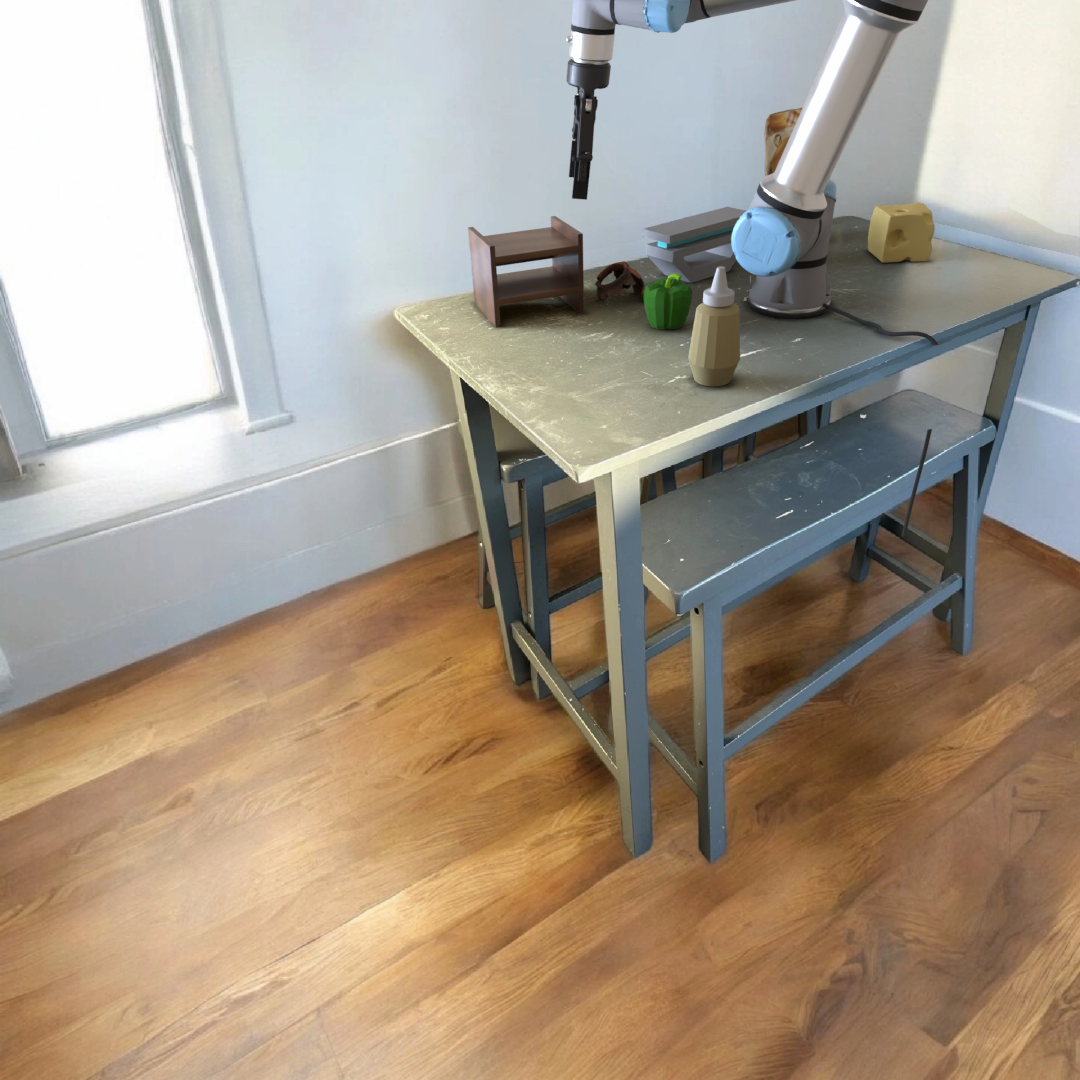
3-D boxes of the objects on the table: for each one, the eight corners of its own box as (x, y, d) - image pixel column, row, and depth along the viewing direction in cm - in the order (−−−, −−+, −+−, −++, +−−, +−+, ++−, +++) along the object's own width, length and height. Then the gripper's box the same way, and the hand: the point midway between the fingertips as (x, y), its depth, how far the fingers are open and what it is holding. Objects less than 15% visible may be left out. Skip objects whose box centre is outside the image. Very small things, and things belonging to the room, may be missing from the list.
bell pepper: (635, 323, 160) (636, 269, 154) (673, 315, 162) (676, 262, 156) (658, 337, 153) (660, 282, 148) (697, 329, 156) (700, 274, 150)
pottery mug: (651, 308, 167) (632, 276, 162) (608, 328, 171) (589, 296, 166) (649, 274, 175) (632, 242, 170) (608, 294, 179) (590, 263, 174)
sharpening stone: (723, 257, 192) (727, 206, 186) (750, 264, 186) (755, 212, 180) (641, 281, 180) (642, 228, 174) (667, 290, 174) (670, 235, 168)
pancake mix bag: (743, 247, 198) (755, 113, 182) (797, 231, 207) (813, 102, 191) (766, 252, 193) (780, 116, 177) (820, 236, 202) (838, 105, 186)
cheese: (929, 262, 182) (940, 213, 177) (879, 264, 183) (887, 215, 177) (912, 248, 191) (922, 201, 185) (864, 250, 191) (872, 203, 186)
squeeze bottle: (726, 394, 132) (736, 278, 122) (678, 384, 136) (684, 271, 126) (745, 375, 138) (756, 263, 128) (698, 366, 142) (706, 257, 131)
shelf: (584, 312, 166) (582, 233, 157) (495, 327, 161) (489, 246, 153) (557, 290, 177) (555, 215, 169) (474, 303, 173) (467, 227, 165)
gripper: (565, 46, 157) (555, 167, 170) (571, 72, 137) (559, 206, 150) (605, 49, 157) (593, 170, 170) (617, 75, 138) (602, 209, 151)
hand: (577, 187), depth 160 cm, fingers open, 13 cm apart
